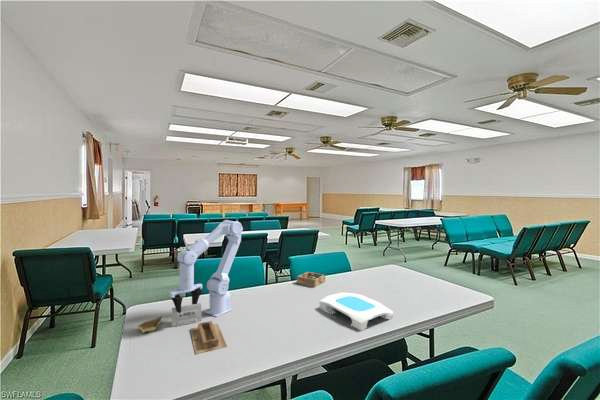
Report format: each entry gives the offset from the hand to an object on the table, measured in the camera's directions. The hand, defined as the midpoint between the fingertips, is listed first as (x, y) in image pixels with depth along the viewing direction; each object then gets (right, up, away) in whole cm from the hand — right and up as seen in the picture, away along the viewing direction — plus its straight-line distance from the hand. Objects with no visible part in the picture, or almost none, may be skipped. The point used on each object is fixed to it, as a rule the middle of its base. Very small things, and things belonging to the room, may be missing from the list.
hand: (186, 309), depth 121 cm
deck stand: (+56, -5, +55) cm, 79 cm away
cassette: (0, -6, 0) cm, 6 cm away
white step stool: (+75, -7, +10) cm, 76 cm away
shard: (-16, -7, 0) cm, 17 cm away
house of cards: (+58, -6, +58) cm, 82 cm away
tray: (+13, -7, -12) cm, 19 cm away
